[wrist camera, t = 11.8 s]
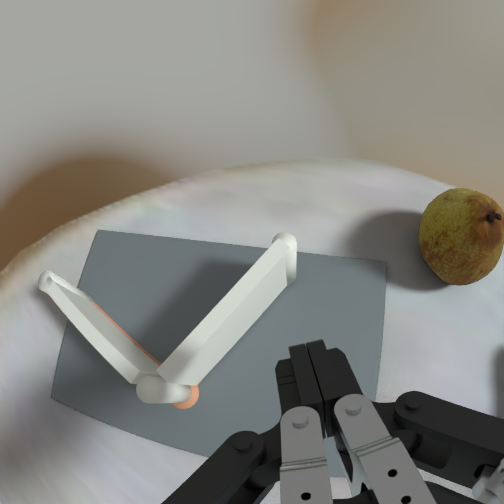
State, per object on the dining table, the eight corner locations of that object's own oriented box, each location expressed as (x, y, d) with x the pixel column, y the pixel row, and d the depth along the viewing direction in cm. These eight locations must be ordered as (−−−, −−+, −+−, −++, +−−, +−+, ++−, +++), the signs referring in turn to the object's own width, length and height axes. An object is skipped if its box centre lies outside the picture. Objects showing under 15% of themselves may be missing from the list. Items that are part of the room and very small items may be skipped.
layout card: (53, 397, 28) (50, 397, 27) (99, 231, 36) (97, 229, 35) (359, 477, 22) (360, 478, 22) (385, 263, 30) (386, 261, 30)
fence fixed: (198, 390, 27) (167, 388, 20) (185, 406, 27) (151, 409, 20) (88, 292, 33) (46, 266, 26) (78, 306, 32) (35, 282, 25)
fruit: (445, 204, 32) (488, 133, 21) (491, 268, 28) (553, 212, 17) (392, 237, 31) (430, 163, 20) (441, 310, 27) (507, 262, 16)
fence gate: (198, 388, 27) (170, 385, 20) (184, 374, 27) (153, 367, 21) (300, 274, 30) (301, 240, 24) (285, 263, 31) (282, 227, 24)
